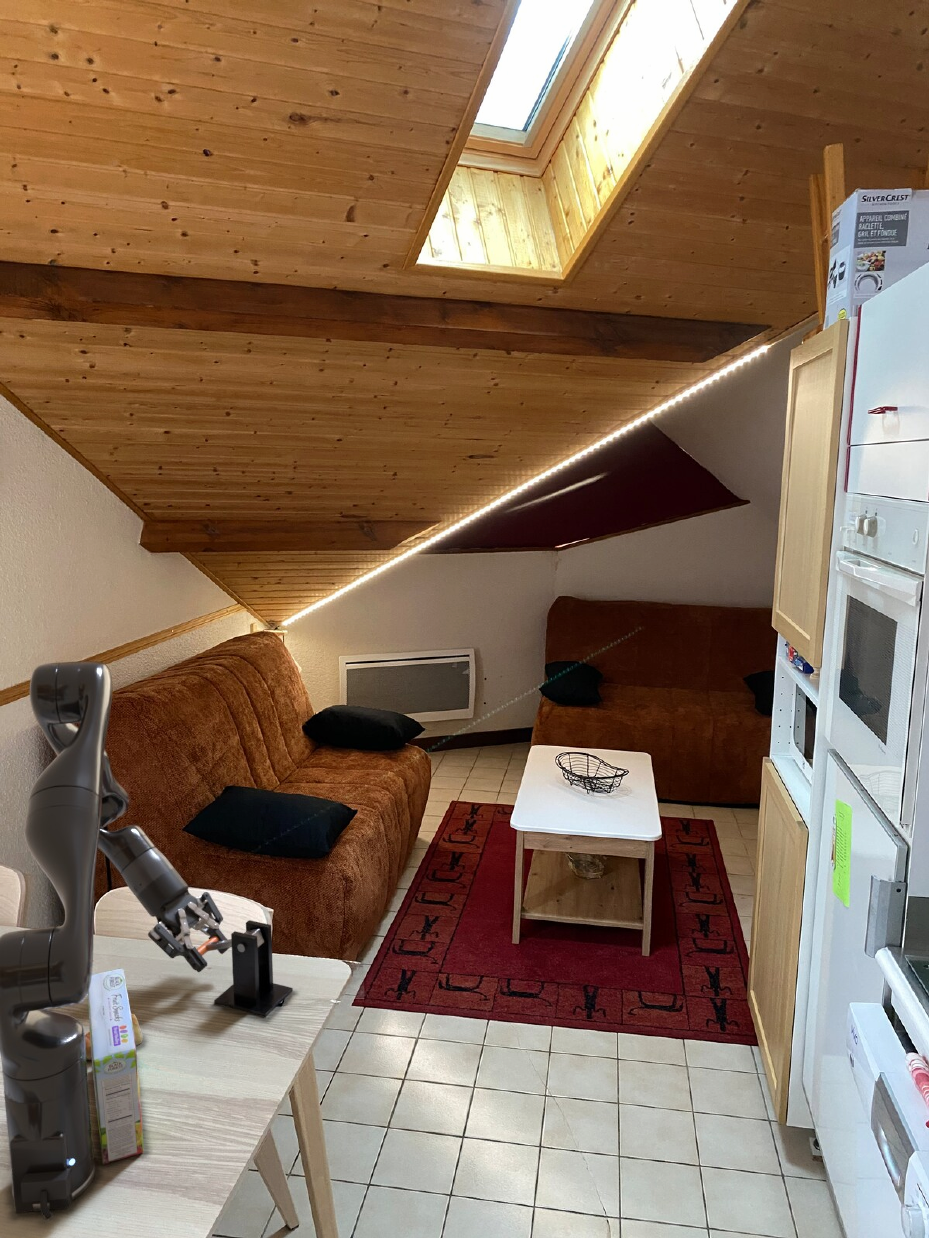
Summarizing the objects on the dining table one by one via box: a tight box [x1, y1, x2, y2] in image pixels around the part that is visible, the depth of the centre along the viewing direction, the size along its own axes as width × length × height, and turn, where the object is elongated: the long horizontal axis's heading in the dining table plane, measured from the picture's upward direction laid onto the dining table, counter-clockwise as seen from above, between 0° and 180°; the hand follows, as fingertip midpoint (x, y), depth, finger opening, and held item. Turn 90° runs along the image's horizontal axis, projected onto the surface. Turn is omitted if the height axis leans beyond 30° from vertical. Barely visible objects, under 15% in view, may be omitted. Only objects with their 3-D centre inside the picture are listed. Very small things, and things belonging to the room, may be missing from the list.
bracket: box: [213, 919, 294, 1018], centre depth 150 cm, size 10×8×13 cm
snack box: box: [87, 967, 145, 1165], centre depth 124 cm, size 21×6×15 cm, turn 25°
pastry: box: [85, 1012, 144, 1061], centre depth 138 cm, size 9×7×4 cm
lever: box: [196, 929, 264, 956], centre depth 151 cm, size 12×6×2 cm, turn 68°
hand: (214, 959), depth 153 cm, fingers closed on lever, 5 cm apart
